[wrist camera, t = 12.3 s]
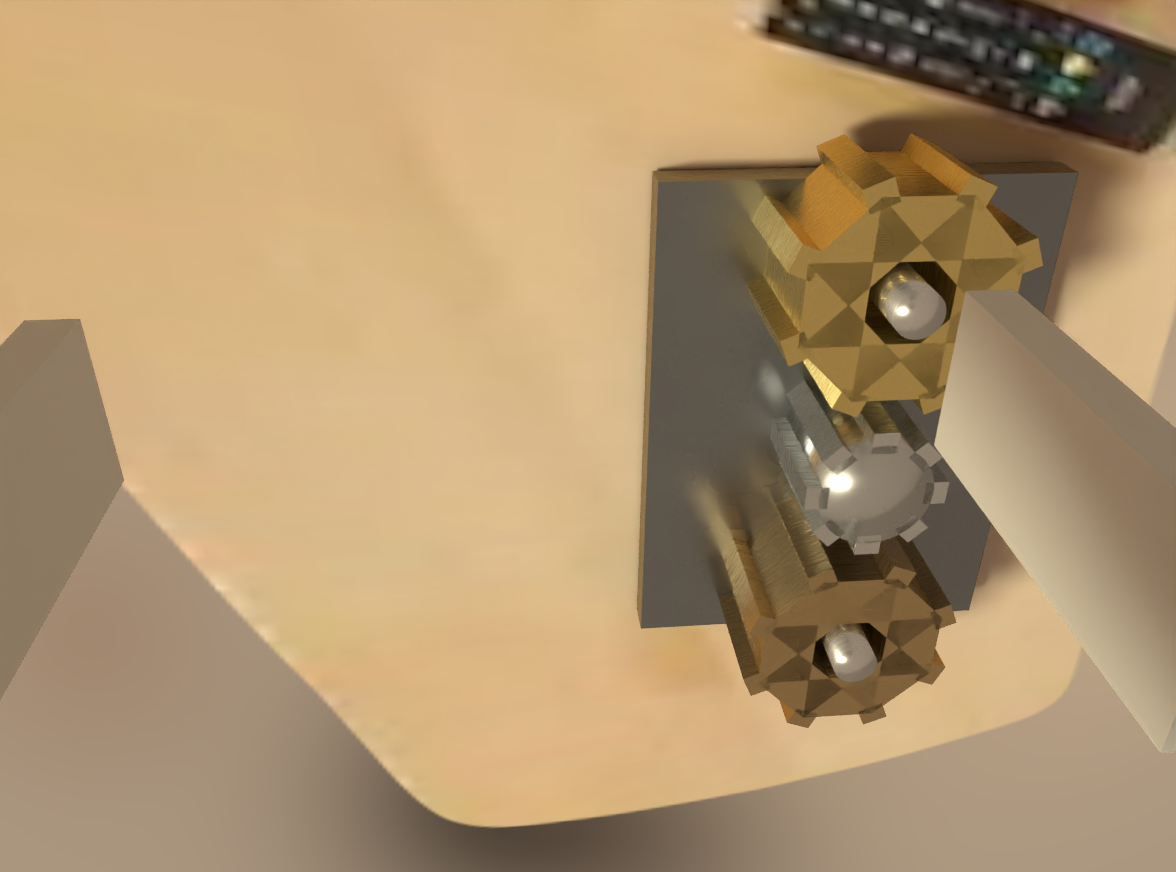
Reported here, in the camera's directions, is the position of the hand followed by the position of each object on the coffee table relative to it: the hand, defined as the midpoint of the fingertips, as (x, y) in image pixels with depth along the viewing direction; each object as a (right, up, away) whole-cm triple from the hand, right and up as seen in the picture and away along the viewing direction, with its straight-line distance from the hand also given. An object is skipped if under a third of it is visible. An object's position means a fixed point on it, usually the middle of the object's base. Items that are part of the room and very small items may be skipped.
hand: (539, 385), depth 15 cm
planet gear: (+13, +7, +29) cm, 32 cm away
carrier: (+12, +1, +34) cm, 37 cm away
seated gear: (+12, -8, +37) cm, 40 cm away
